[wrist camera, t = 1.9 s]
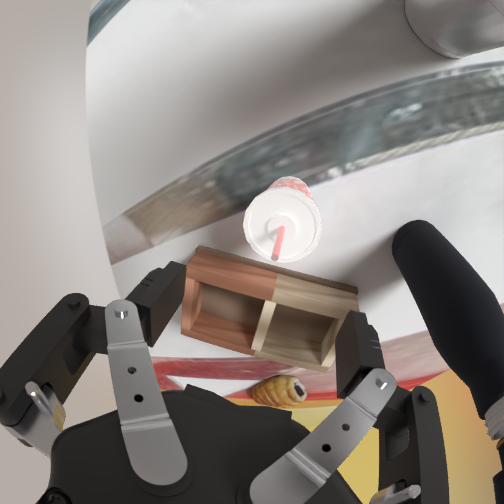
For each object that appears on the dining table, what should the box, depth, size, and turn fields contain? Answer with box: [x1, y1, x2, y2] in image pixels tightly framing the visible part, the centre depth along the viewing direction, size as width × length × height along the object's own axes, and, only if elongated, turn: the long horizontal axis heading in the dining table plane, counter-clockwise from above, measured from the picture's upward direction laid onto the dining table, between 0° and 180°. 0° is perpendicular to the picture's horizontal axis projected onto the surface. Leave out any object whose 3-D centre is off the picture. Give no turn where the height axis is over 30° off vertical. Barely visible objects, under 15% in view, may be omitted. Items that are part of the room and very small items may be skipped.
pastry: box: [252, 375, 307, 408], centre depth 42 cm, size 9×7×4 cm
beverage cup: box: [243, 176, 322, 263], centre depth 23 cm, size 6×6×14 cm
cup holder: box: [181, 245, 359, 373], centre depth 34 cm, size 11×20×5 cm, turn 78°
